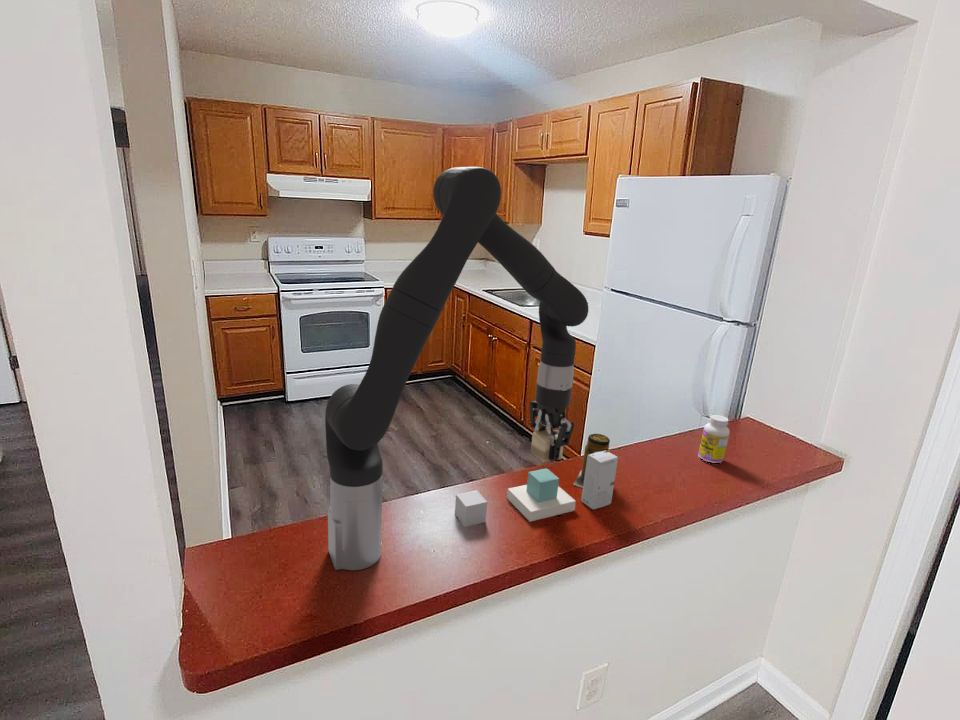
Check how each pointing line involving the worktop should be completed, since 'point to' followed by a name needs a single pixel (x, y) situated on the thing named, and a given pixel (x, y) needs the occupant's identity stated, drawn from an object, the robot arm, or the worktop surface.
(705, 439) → the supplement bottle
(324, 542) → the worktop surface
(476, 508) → the grey block
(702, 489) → the worktop surface
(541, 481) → the teal block
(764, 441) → the worktop surface
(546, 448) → the maple block
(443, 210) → the robot arm
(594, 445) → the condiment
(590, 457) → the skincare box
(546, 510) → the baseplate
